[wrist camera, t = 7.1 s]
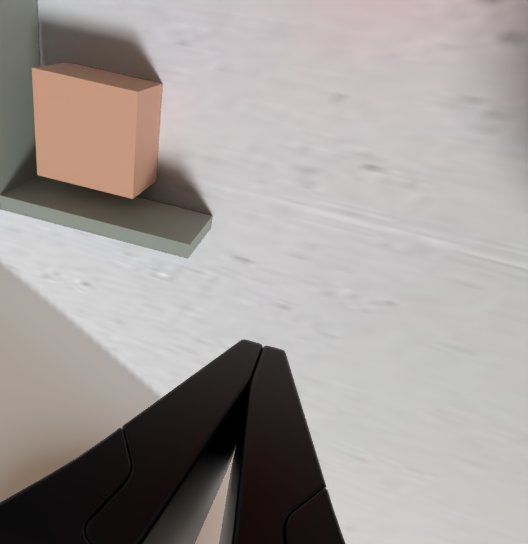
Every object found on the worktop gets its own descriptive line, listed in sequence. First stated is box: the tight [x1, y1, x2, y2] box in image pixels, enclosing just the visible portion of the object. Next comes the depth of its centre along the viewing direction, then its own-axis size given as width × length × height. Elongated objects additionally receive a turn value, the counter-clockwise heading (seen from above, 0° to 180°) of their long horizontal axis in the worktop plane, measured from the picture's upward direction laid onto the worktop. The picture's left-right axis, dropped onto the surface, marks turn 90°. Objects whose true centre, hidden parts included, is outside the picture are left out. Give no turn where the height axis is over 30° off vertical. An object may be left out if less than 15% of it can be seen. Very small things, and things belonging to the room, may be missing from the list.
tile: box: [32, 62, 163, 199], centre depth 19 cm, size 4×4×2 cm
